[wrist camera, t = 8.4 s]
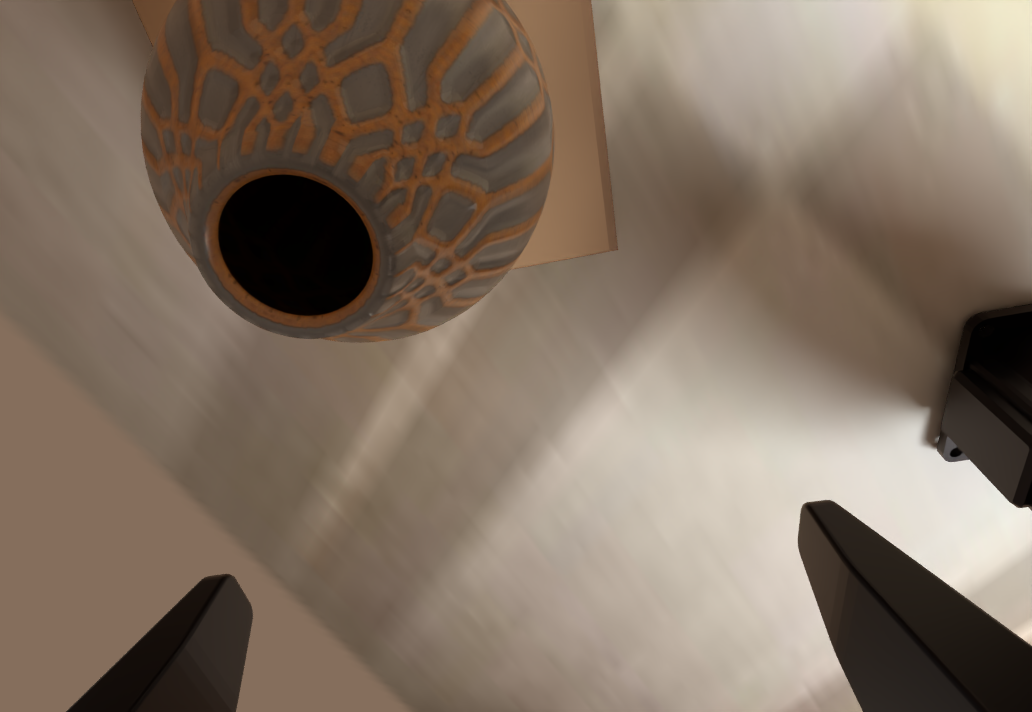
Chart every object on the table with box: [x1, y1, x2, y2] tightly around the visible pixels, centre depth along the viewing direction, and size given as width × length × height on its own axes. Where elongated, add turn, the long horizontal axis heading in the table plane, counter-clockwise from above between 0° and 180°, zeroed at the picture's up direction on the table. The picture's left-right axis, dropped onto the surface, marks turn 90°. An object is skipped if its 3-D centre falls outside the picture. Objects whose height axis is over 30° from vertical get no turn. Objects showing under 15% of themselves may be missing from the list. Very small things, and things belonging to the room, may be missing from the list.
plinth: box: [132, 0, 618, 270], centre depth 16 cm, size 10×10×3 cm
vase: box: [141, 0, 554, 343], centre depth 11 cm, size 7×7×9 cm
